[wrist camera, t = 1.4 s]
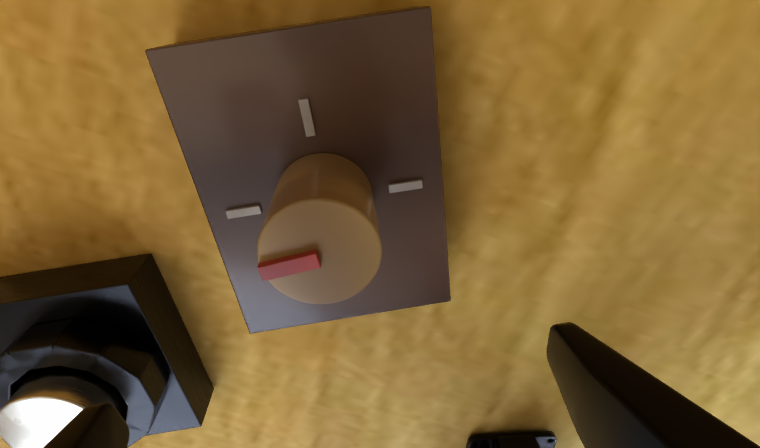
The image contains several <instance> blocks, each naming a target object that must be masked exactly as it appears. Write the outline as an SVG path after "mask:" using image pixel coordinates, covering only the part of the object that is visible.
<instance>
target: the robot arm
mask: <svg viewBox="0 0 760 448" xmlns="http://www.w3.org/2000/svg"><path fill="white" fill-rule="evenodd" d="M547 359H548V362H549V365H550V367H551V370H552V372H553V375H554V377H555V380H556V382H557V385H558V387H559V389H560V392H561V394H562V397H563V399H564V402H565V404H566V407H567V409H568V412H569V414H570V417H571V419H572V421H573V424H574V426H575V428H576V431H577V433H578V435H579V437H580V439H581V441H582V443H583V445H584V447H585V448H760V446H758V445H757V444H755V443H754V442H752V441H751V440H749V439H748V438H746V437H745V436H743V435H742V434H740V433H739V432H737V431H736V430H734V429H733V428H731V427H730V426H728V425H727V424H725V423H724V422H722V421H721V420H719V419H718V418H716V417H715V416H713V415H712V414H710V413H709V412H707V411H705V410H704V409H702V408H701V407H699V406H698V405H696V404H695V403H693V402H692V401H690V400H689V399H687V398H686V397H684V396H683V395H681V394H680V393H678V392H677V391H675V390H674V389H672V388H671V387H669V386H668V385H666V384H665V383H663V382H662V381H660V380H659V379H657V378H656V377H654V376H653V375H651V374H650V373H648V372H647V371H645V370H644V369H642V368H641V367H639V366H638V365H636V364H635V363H633V362H631V361H630V360H628V359H627V358H625V357H624V356H622V355H621V354H619V353H618V352H616V351H615V350H613V349H612V348H610V347H609V346H607V345H606V344H604V343H603V342H601V341H600V340H598V339H597V338H595V337H594V336H592V335H591V334H589V333H588V332H586V331H585V330H583V329H582V328H580V327H579V326H577V325H576V324H574V323H571V322H566V323H560V324H555V325H552V327H551V328H550V332H549V338H548V345H547ZM129 435H130V432H129V427H128V424H127V423H126V422H125V420H124V419H123V418H122V416H121V415H120V414H119V412H118V411H117V410H116V408H115V407H114V406H113V405H112V404H110V403H101V404H95V405H90V406H87V407H85V408H84V409H83V410H82V411H80V412H79V413H78V414H77V415H76V416H75V417H74V418H73V419H72V420H71V421H70V422H69V423H68V424H67V425H66V426H65V427H64V428H63V429H62V430H61V431H60V432H59V433H58V434H57V435H56V436H55V437H54V438H53V439H52V440H50V441H49V442H48V443H47V444H46V445H45V446H44V447H43V448H127V447H128V442H129ZM556 441H557V438H556V436H555V434H554V433H553V432H552V431H544V432H525V433H506V434H487V435H473V436H471V437H470V438H469V439H468V443H467V447H466V448H554V446H555V444H556Z"/></svg>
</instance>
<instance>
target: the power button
mask: <svg viewBox="0 0 760 448" xmlns="http://www.w3.org/2000/svg"><path fill="white" fill-rule="evenodd" d="M101 403H110V404H112V405H113V406H114V407H115V408H116V410H117V411H118V412H119V414H120V415H122V413H123V409H124V401H123V397H122V395H121V394H120V392H119V390H118V389H117V387H115V386H113V385H112V384H110V383H108V382H107V381H105V380H103V379H102V378H100V377H98V376H97V375H95V374H93V373H91V372H89V371H84V370H79V369H74V368H69V367H64V366H55V367H49V368H45V369H42V370H39V371H37V372H35V373H33V374H32V375H30V376H29V377H28V378H27V379H26V380H25V381H24V383H23V384H22V385H21V386H20V387H19V389H18V390H17V391H16V392H15V393H14V394H13V396H12V397H11V398H10V399H9V400H8V402H7V403H6V404H5V405H4V406H3V408H2V409H1V410H0V436H1V437H2V439H3V440H4V441H5V442H6V443H7V444H8V445H9V446H11V447H12V448H43V447H44V446H45V445H46V444H47V443H48V442H49V441H50V440H52V439H53V438H54V437H55V436H56V435H57V434H58V433H59V432H60V431H61V430H62V429H63V428H64V427H65V426H66V425H67V424H68V423H69V422H70V421H71V420H72V419H73V418H74V417H75V416H76V415H77V414H78V413H79V412H80V411H82V410H83V409H84V408H85V407H87V406H90V405H95V404H101Z"/></svg>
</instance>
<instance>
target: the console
mask: <svg viewBox="0 0 760 448" xmlns="http://www.w3.org/2000/svg"><path fill="white" fill-rule="evenodd" d="M145 52H146V55H147V58H148V60H149V63H150V66H151V68H152V71H153V74H154V76H155V79H156V82H157V84H158V87H159V90H160V93H161V95H162V98H163V101H164V103H165V106H166V109H167V111H168V114H169V117H170V119H171V122H172V125H173V127H174V130H175V133H176V136H177V138H178V141H179V144H180V146H181V149H182V152H183V154H184V157H185V160H186V162H187V165H188V168H189V171H190V173H191V176H192V179H193V181H194V184H195V187H196V189H197V192H198V195H199V197H200V200H201V203H202V206H203V208H204V211H205V214H206V216H207V219H208V222H209V224H210V227H211V230H212V232H213V235H214V238H215V241H216V243H217V246H218V249H219V251H220V254H221V257H222V259H223V262H224V265H225V267H226V270H227V273H228V275H229V278H230V281H231V284H232V286H233V289H234V292H235V294H236V297H237V300H238V302H239V305H240V308H241V310H242V313H243V316H244V319H245V321H246V324H247V327H248V329H249V332H250V333H256V332H263V331H269V330H275V329H281V328H287V327H293V326H300V325H306V324H312V323H318V322H324V321H330V320H337V319H343V318H349V317H355V316H361V315H367V314H374V313H380V312H386V311H392V310H398V309H404V308H411V307H417V306H423V305H429V304H435V303H441V302H448V301H450V300H451V296H450V281H449V267H448V252H447V237H446V223H445V208H444V193H443V179H442V164H441V149H440V135H439V120H438V105H437V91H436V76H435V61H434V47H433V32H432V17H431V8H430V7H429V6H415V7H409V8H402V9H396V10H389V11H383V12H376V13H369V14H363V15H356V16H350V17H343V18H337V19H330V20H324V21H317V22H311V23H304V24H297V25H291V26H284V27H278V28H271V29H265V30H258V31H252V32H245V33H239V34H232V35H225V36H219V37H212V38H206V39H199V40H193V41H186V42H180V43H174V44H169V45H165V46H160V47H155V48H151V49H147V50H145ZM316 153H330V154H335V155H339V156H342V157H344V158H346V159H349V160H350V161H352V162H353V163H355V164H356V165H357V166H358V167H359V168H360V169H361V170H362V171H363V172H364V173H365V175H366V176H367V178H368V180H369V182H370V185H371V188H372V193H373V199H374V204H375V210H376V216H377V221H378V227H379V233H380V239H381V244H382V258H381V263H380V266H379V269H378V271H377V273H376V275H375V276H374V278H373V279H372V281H371V282H370V283H369V284H368V285H367V286H366V287H365V288H364V289H363V290H362V291H360V292H359V293H358V294H356V295H354V296H352V297H351V298H348V299H346V300H343V301H340V302H336V303H330V304H310V303H305V302H301V301H297V300H295V299H292V298H290V297H288V296H286V295H284V294H283V293H281V292H280V291H278V290H277V289H276V288H275V287H273V285H272V284H271V283H270V282H269V281H268V280H267V281H263V280H262V278H261V275H260V273H259V271H258V269H257V267H258V264H259V262H258V257H257V242H258V238H259V234H260V231H261V229H262V226H263V223H264V220H265V217H266V215H267V212H268V209H269V206H270V203H271V200H272V198H273V195H274V192H275V189H276V186H277V184H278V181H279V179H280V177H281V175H282V174H283V172H284V171H285V170H286V169H287V167H288V166H290V165H291V164H292V163H293V162H295V161H296V160H298V159H300V158H302V157H304V156H307V155H311V154H316Z"/></svg>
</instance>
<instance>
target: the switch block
mask: <svg viewBox="0 0 760 448" xmlns="http://www.w3.org/2000/svg"><path fill="white" fill-rule="evenodd" d="M55 366H64V367H69V368H74V369H79V370H84V371H89V372H91V373H93V374H95V375H97V376H98V377H100V378H102V379H103V380H105V381H107V382H108V383H110V384H112V385H113V386H115V387H117V389H118V390H119V392H120V394H121V395H122V397H123V401H124V409H123V413H122V415H121V416H122V418H123V419H124V420H125V422H126V423H127V424H128V427H129V432H130V435H129V442H128V447H129V446H131V445H132V444H133V443H135V442H136V441H138V440H139V439H141V438H142V437H144V436H146V435H152V434H158V433H164V432H170V431H176V430H182V429H188V428H195V427H201V426H202V423H203V420H204V417H205V414H206V411H207V408H208V405H209V402H210V399H211V396H212V393H213V390H214V387H213V385H212V383H211V381H210V379H209V377H208V374H207V372H206V370H205V368H204V366H203V364H202V361H201V359H200V357H199V355H198V353H197V351H196V348H195V346H194V344H193V342H192V340H191V338H190V336H189V333H188V331H187V329H186V327H185V325H184V323H183V320H182V318H181V316H180V314H179V312H178V310H177V307H176V305H175V303H174V301H173V299H172V297H171V295H170V292H169V290H168V288H167V286H166V284H165V282H164V279H163V277H162V275H161V273H160V271H159V269H158V267H157V264H156V262H155V260H154V258H153V256H152V254H151V253H150V254H144V255H138V256H131V257H125V258H119V259H113V260H106V261H100V262H94V263H88V264H81V265H75V266H69V267H62V268H56V269H50V270H44V271H37V272H31V273H25V274H18V275H12V276H6V277H0V410H1V409H2V408H3V406H4V405H5V404H6V403H7V402H8V400H9V399H10V398H11V397H12V396H13V394H14V393H15V392H16V391H17V390H18V389H19V387H20V386H21V385H22V384H23V383H24V381H25V380H26V379H27V378H28V377H29V376H30V375H32V374H33V373H35V372H37V371H39V370H42V369H45V368H49V367H55ZM128 447H127V448H128Z"/></svg>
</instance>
